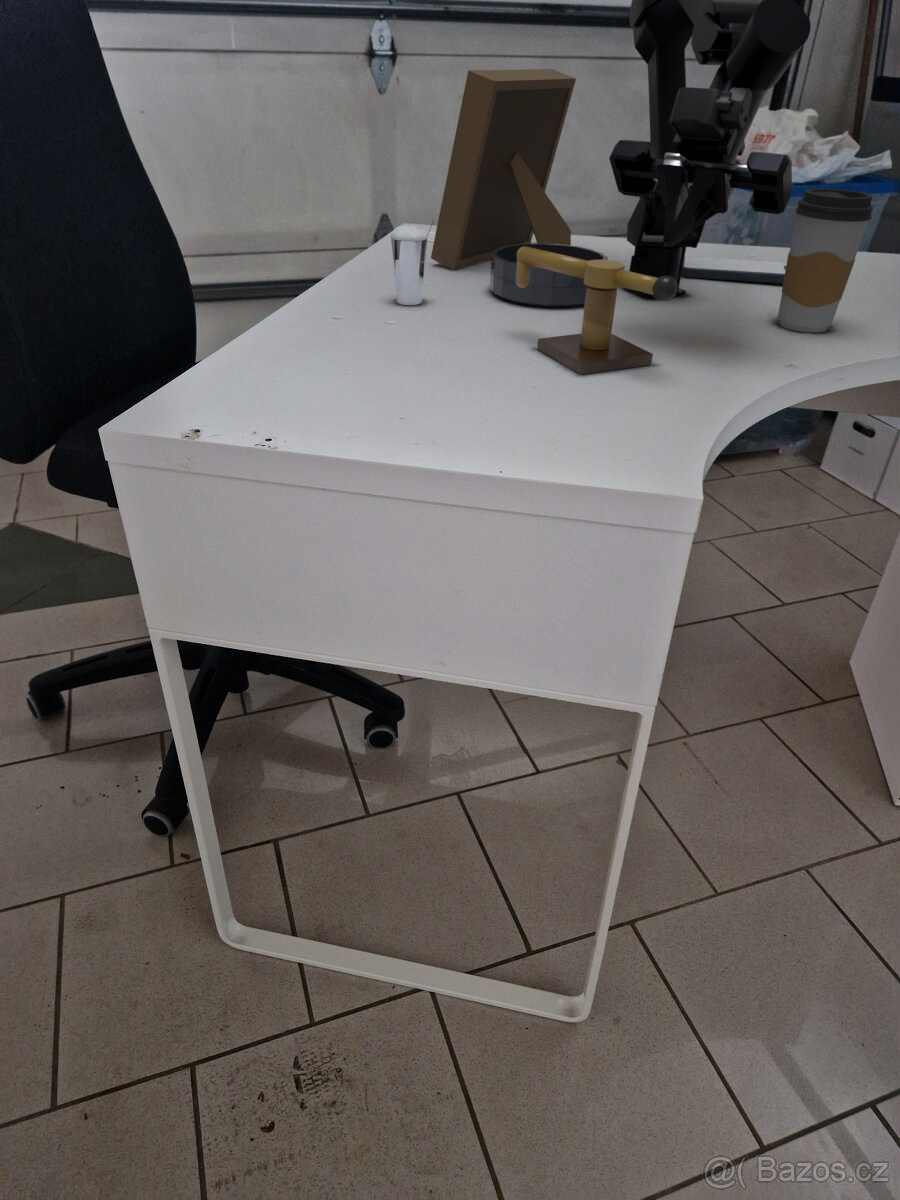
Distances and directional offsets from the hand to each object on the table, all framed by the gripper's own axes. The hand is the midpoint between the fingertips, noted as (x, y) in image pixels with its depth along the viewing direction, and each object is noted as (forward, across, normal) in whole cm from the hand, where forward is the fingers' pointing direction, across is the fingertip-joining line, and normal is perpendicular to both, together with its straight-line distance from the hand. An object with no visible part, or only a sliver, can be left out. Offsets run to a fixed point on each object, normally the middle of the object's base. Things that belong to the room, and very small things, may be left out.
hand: (667, 244), depth 87 cm
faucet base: (+12, -4, +4) cm, 13 cm away
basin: (-2, -21, +18) cm, 28 cm away
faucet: (+8, -6, 0) cm, 10 cm away
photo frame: (-12, -35, +28) cm, 47 cm away
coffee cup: (-8, +11, +24) cm, 27 cm away
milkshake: (+9, -32, +7) cm, 34 cm away
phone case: (-22, -5, +38) cm, 45 cm away
